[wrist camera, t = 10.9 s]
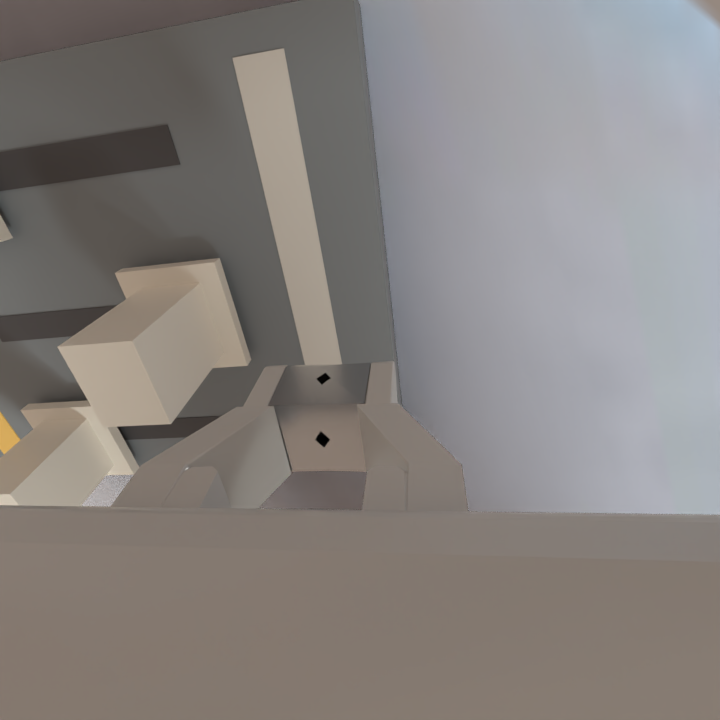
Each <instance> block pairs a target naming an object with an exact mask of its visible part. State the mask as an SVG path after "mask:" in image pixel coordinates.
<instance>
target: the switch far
mask: <svg viewBox="0 0 720 720" xmlns="http://www.w3.org/2000/svg"><path fill="white" fill-rule="evenodd" d="M21 412H22V413H23V415H24V416H25V418H26V419H27V421H28V422H29V424H30V425H31V427H32V428H33V430H32V431H30V432H29V433H28V434H27V435H26V436H25V437H24V438H22V439H21V440H20V441H19V442H18V443H17V444H15V445H14V446H13V447H12V448H11V449H10V450H9V451H7V452H6V453H5V454H4V455H3V456H2V457H0V505H25V506H81V505H82V504H83V503H84V502H85V500H86V499H87V498H88V497H89V495H90V494H91V493H92V492H93V491H94V489H95V488H96V487H97V486H98V484H99V483H100V482H101V481H102V480H103V478H104V477H105V476H106V475H134V474H135V473H136V471H137V470H138V469H139V466H138V464H137V462H136V460H135V458H134V457H133V455H132V453H131V451H130V449H129V448H128V446H127V444H126V442H125V440H124V439H123V437H122V435H121V433H120V431H119V429H118V428H117V427H103V426H102V424H101V422H100V421H99V419H98V417H97V415H96V414H95V412H94V410H93V409H92V407H91V405H90V403H89V402H88V400H86V401H69V402H51V403H34V404H28V405H26V406H25V407H24V408H22V409H21Z"/></svg>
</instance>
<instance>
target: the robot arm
mask: <svg viewBox="0 0 720 720" xmlns="http://www.w3.org/2000/svg"><path fill="white" fill-rule="evenodd" d="M300 471H357V472H366V473H367V476H366V483H365V490H364V498H363V505H362V510H328V509H258V508H259V507H260V506H261V505H262V504H263V503H264V502H265V501H266V500H267V499H268V498H269V497H270V496H271V494H272V493H273V492H274V491H275V490H276V489H277V488H278V487H279V486H280V485H281V484H282V483H283V482H284V481H285V480H286V479H287V478H288V477H289V476H290V475H291V472H300ZM0 720H720V515H703V514H628V513H544V512H470V511H468V506H467V499H466V492H465V485H464V478H463V470H462V465H461V464H460V463H459V462H458V461H457V460H456V459H455V458H454V457H453V456H452V455H451V454H450V453H449V452H448V451H447V450H446V449H445V448H444V447H443V446H442V445H441V444H440V443H439V442H438V441H437V440H435V439H434V438H433V437H432V436H431V435H430V434H429V433H428V432H427V431H426V430H425V429H424V428H423V427H422V426H421V425H420V424H419V423H418V422H417V421H416V420H415V419H414V418H413V417H412V416H411V415H410V414H409V413H408V412H407V411H406V410H405V409H404V408H403V407H401V406H400V405H399V404H398V398H397V384H396V370H395V363H394V361H386V362H373V363H355V364H338V365H289V366H287V365H277V366H267V367H265V368H264V369H263V371H262V373H261V375H260V377H259V378H258V380H257V382H256V384H255V386H254V388H253V389H252V391H251V393H250V395H249V397H248V398H247V400H246V402H245V404H244V406H243V407H236V408H234V409H232V410H231V411H229V412H227V413H226V414H224V415H222V416H221V417H219V418H218V419H216V420H214V421H213V422H211V423H209V424H208V425H206V426H204V427H203V428H201V429H200V430H198V431H196V432H195V433H193V434H191V435H190V436H188V437H186V438H185V439H183V440H181V441H180V442H178V443H177V444H175V445H173V446H172V447H170V448H168V449H167V450H165V451H163V452H162V453H160V454H159V455H157V456H155V457H154V458H152V459H150V460H149V461H147V462H145V463H144V464H142V465H141V466H140V468H139V469H138V470H137V472H136V473H135V474H134V476H133V477H132V478H131V480H130V481H129V482H128V484H127V485H126V486H125V488H124V489H123V491H122V492H121V493H120V495H119V496H118V497H117V499H116V500H115V501H114V503H113V504H112V505H111V507H97V506H25V505H0Z"/></svg>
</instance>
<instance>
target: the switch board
mask: <svg viewBox="0 0 720 720" xmlns="http://www.w3.org/2000/svg"><path fill="white" fill-rule="evenodd" d="M0 215H1V217H2V219H3V221H4V223H5V224H6V226H7V228H8V230H9V232H10V233H11V235H12V237H13V238H12V239H9V240H6V241H3V242H0V457H2V456H3V455H4V454H5V453H6V452H7V451H9V450H10V449H11V448H12V447H13V446H14V445H15V444H17V443H18V442H19V441H20V440H21V439H22V438H24V437H25V436H26V435H27V434H28V433H29V432H30V431H32V430H33V428H32V427H31V425H30V424H29V422H28V421H27V419H26V418H25V416H24V415H23V413H22V412H21V409H22V408H24V407H25V406H26V405H28V404H34V403H51V402H69V401H86V400H87V398H86V396H85V395H84V393H83V391H82V389H81V388H80V386H79V384H78V382H77V381H76V379H75V377H74V375H73V374H72V372H71V370H70V368H69V367H68V365H67V363H66V361H65V360H64V358H63V356H62V354H61V353H60V351H59V349H58V346H59V345H61V344H62V343H64V342H65V341H66V340H68V339H69V338H71V337H72V336H74V335H75V334H77V333H78V332H79V331H81V330H82V329H84V328H85V327H87V326H88V325H90V324H91V323H92V322H94V321H95V320H97V319H98V318H100V317H101V316H103V315H104V314H105V313H107V312H108V311H110V310H111V309H113V308H114V307H116V306H117V305H118V304H120V303H121V302H123V301H124V300H126V297H125V295H124V293H123V291H122V289H121V286H120V284H119V282H118V280H117V277H116V275H115V273H116V272H117V271H119V270H121V269H123V268H132V267H141V266H151V265H160V264H169V263H178V262H187V261H196V260H205V259H214V258H220V261H221V264H222V267H223V270H224V273H225V277H226V280H227V283H228V286H229V290H230V293H231V296H232V299H233V302H234V306H235V309H236V312H237V315H238V319H239V322H240V325H241V328H242V331H243V335H244V338H245V341H246V344H247V348H248V351H249V354H250V357H251V361H250V362H249V364H248V366H237V367H223V368H212V370H211V371H210V372H209V374H208V375H207V376H206V378H205V379H204V380H203V382H202V383H201V384H200V386H199V387H198V388H197V390H196V391H195V393H194V394H193V395H192V397H191V398H190V399H189V401H188V402H187V403H186V405H185V406H184V407H183V409H182V410H181V411H180V413H179V414H178V415H177V417H176V418H175V420H174V421H173V422H172V424H163V425H141V426H119V427H117V428H118V429H119V431H120V433H121V435H122V437H123V439H124V440H125V442H126V444H127V446H128V448H129V449H130V451H131V453H132V455H133V457H134V458H135V460H136V462H137V464H138V466H139V468H140V466H141V465H142V464H144V463H145V462H147V461H149V460H150V459H152V458H154V457H155V456H157V455H159V454H160V453H162V452H163V451H165V450H167V449H168V448H170V447H172V446H173V445H175V444H177V443H178V442H180V441H181V440H183V439H185V438H186V437H188V436H190V435H191V434H193V433H195V432H196V431H198V430H200V429H201V428H203V427H204V426H206V425H208V424H209V423H211V422H213V421H214V420H216V419H218V418H219V417H221V416H222V415H224V414H226V413H227V412H229V411H231V410H232V409H234V408H236V407H243V406H244V404H245V402H246V400H247V398H248V397H249V395H250V393H251V391H252V389H253V388H254V386H255V384H256V382H257V380H258V378H259V377H260V375H261V373H262V371H263V369H264V368H265V367H267V366H277V365H287V366H289V365H338V364H355V363H373V362H386V361H394V363H395V370H396V384H397V398H398V404H399V405H400V406H401V407H402V400H401V390H400V381H399V371H398V362H397V352H396V343H395V333H394V324H393V314H392V305H391V295H390V286H389V276H388V267H387V258H386V248H385V239H384V229H383V220H382V210H381V201H380V191H379V182H378V172H377V163H376V153H375V144H374V134H373V125H372V115H371V106H370V97H369V87H368V78H367V68H366V59H365V49H364V40H363V30H362V21H361V11H360V4H359V2H358V0H298V1H294V2H289V3H284V4H279V5H274V6H269V7H264V8H259V9H254V10H249V11H244V12H240V13H235V14H230V15H225V16H220V17H215V18H210V19H205V20H200V21H195V22H190V23H186V24H181V25H176V26H171V27H166V28H161V29H156V30H151V31H146V32H141V33H136V34H132V35H127V36H122V37H117V38H112V39H107V40H102V41H97V42H92V43H87V44H82V45H78V46H73V47H68V48H63V49H58V50H53V51H48V52H43V53H38V54H33V55H29V56H24V57H19V58H14V59H9V60H4V61H0ZM136 472H137V471H136Z"/></svg>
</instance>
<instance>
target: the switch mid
mask: <svg viewBox="0 0 720 720" xmlns="http://www.w3.org/2000/svg"><path fill="white" fill-rule="evenodd" d="M115 275H116V277H117V280H118V282H119V284H120V286H121V289H122V291H123V293H124V295H125V297H126V300H124V301H123V302H121V303H120V304H118V305H117V306H116V307H114V308H113V309H111V310H110V311H108V312H107V313H105V314H104V315H103V316H101V317H100V318H98V319H97V320H95V321H94V322H92V323H91V324H90V325H88V326H87V327H85V328H84V329H82V330H81V331H79V332H78V333H77V334H75V335H74V336H72V337H71V338H69V339H68V340H66V341H65V342H64V343H62V344H61V345H59V346H58V349H59V351H60V353H61V354H62V356H63V358H64V360H65V361H66V363H67V365H68V367H69V368H70V370H71V372H72V374H73V375H74V377H75V379H76V381H77V382H78V384H79V386H80V388H81V389H82V391H83V393H84V395H85V396H86V398H87V400H88V402H89V403H90V405H91V407H92V409H93V410H94V412H95V414H96V415H97V417H98V419H99V421H100V422H101V424H102V426H103V427H119V426H141V425H163V424H172V422H173V421H174V420H175V418H176V417H177V415H178V414H179V413H180V411H181V410H182V409H183V407H184V406H185V405H186V403H187V402H188V401H189V399H190V398H191V397H192V395H193V394H194V393H195V391H196V390H197V388H198V387H199V386H200V384H201V383H202V382H203V380H204V379H205V378H206V376H207V375H208V374H209V372H210V371H211V370H212V368H223V367H237V366H248V364H249V362H250V361H251V357H250V354H249V351H248V348H247V344H246V341H245V338H244V335H243V331H242V328H241V325H240V322H239V319H238V315H237V312H236V309H235V306H234V302H233V299H232V296H231V293H230V290H229V286H228V283H227V280H226V277H225V273H224V270H223V267H222V264H221V261H220V258H214V259H205V260H196V261H187V262H178V263H169V264H160V265H151V266H141V267H132V268H123V269H121V270H119V271H117V272H116V273H115Z"/></svg>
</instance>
